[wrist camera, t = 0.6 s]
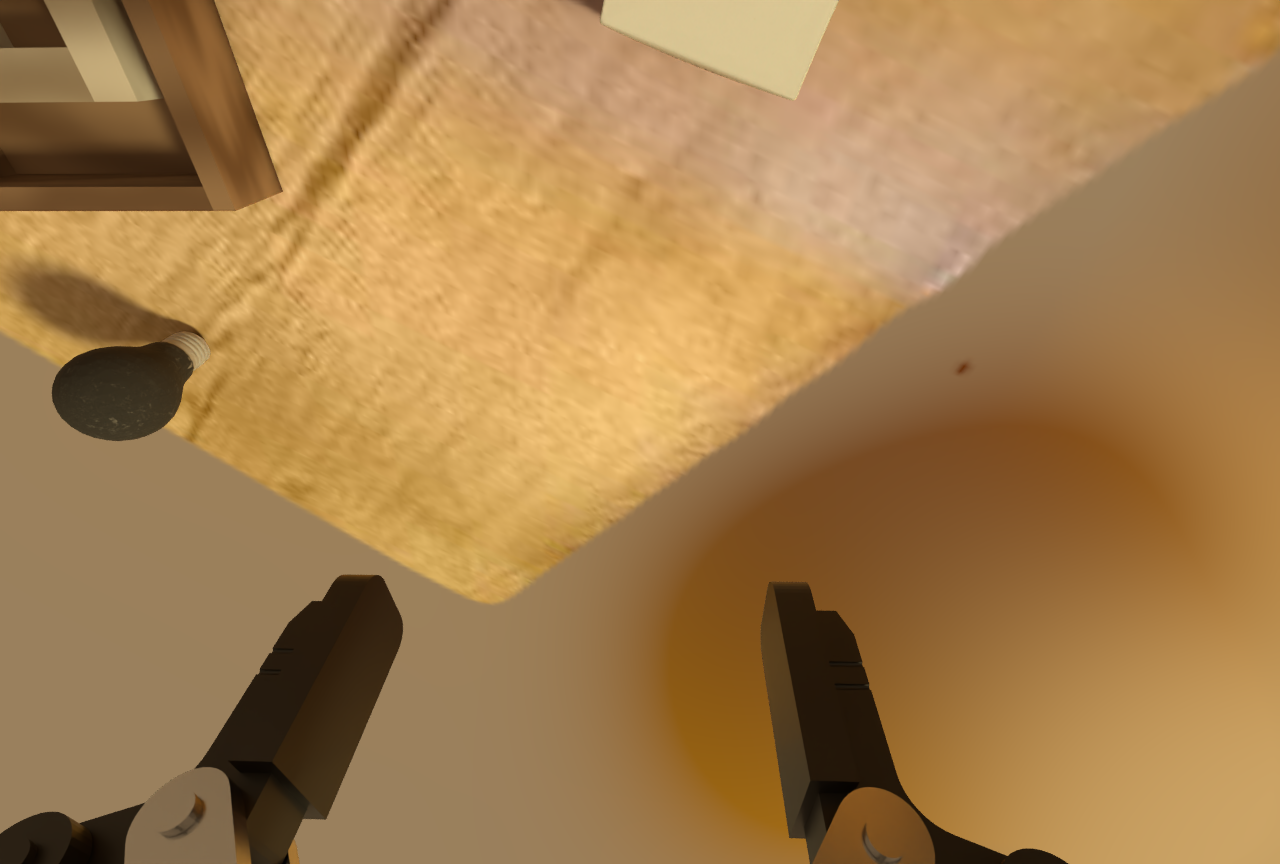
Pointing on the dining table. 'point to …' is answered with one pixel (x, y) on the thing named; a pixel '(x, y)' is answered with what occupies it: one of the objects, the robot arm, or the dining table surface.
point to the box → (125, 109)
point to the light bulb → (127, 386)
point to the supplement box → (730, 36)
